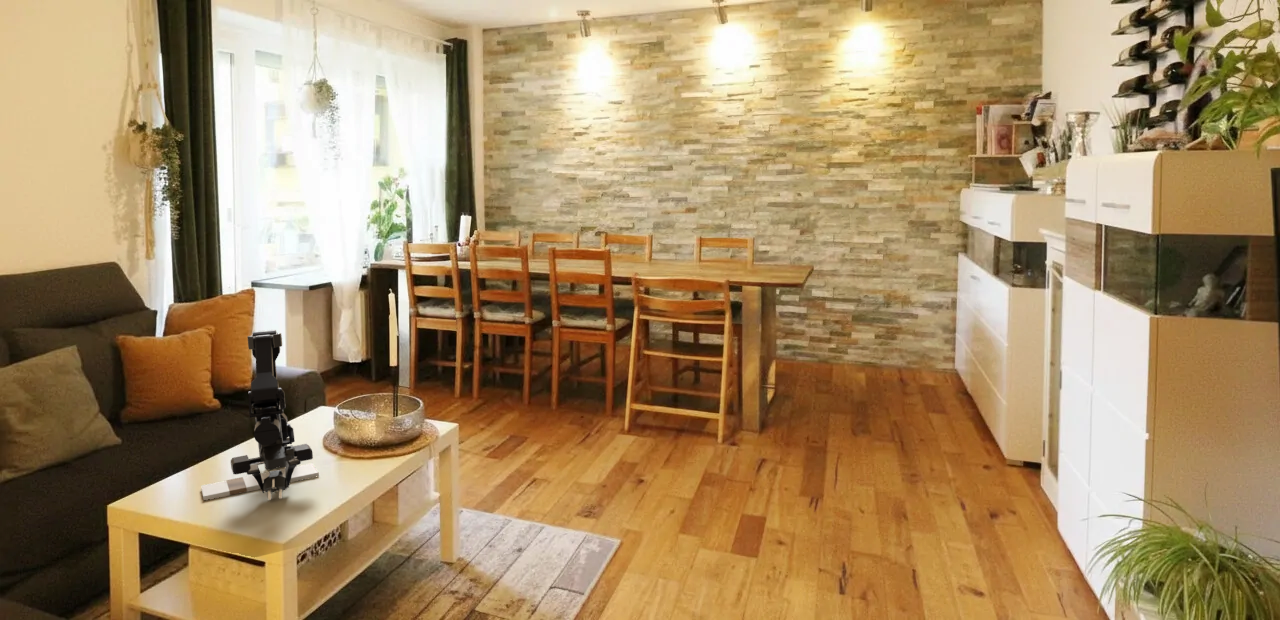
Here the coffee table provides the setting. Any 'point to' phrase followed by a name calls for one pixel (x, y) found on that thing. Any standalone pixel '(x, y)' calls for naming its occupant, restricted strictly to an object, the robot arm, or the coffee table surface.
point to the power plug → (275, 483)
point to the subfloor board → (252, 482)
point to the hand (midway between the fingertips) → (275, 489)
